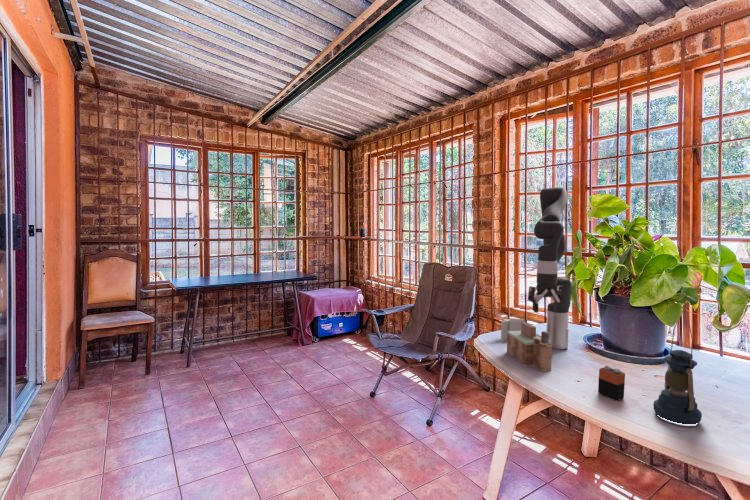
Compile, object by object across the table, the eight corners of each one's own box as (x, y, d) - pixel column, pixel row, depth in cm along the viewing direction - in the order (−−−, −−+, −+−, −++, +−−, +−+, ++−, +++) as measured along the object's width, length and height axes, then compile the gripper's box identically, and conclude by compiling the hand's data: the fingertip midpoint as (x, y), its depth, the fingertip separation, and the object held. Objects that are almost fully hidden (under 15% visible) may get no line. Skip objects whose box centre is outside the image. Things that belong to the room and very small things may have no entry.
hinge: (501, 341, 195) (502, 321, 194) (496, 338, 200) (497, 319, 199) (527, 340, 197) (528, 320, 196) (522, 337, 202) (522, 318, 201)
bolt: (532, 339, 166) (532, 327, 165) (538, 339, 166) (538, 327, 166) (543, 346, 158) (544, 333, 157) (550, 345, 158) (550, 333, 158)
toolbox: (506, 352, 179) (507, 327, 178) (529, 351, 181) (530, 326, 180) (533, 371, 158) (534, 343, 157) (558, 370, 160) (559, 341, 158)
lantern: (644, 405, 130) (650, 301, 127) (685, 409, 127) (692, 302, 124) (666, 428, 116) (674, 311, 113) (713, 432, 114) (722, 313, 110)
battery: (616, 401, 133) (618, 372, 132) (597, 393, 139) (598, 365, 138) (624, 398, 135) (626, 370, 134) (605, 390, 141) (606, 363, 140)
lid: (507, 335, 179) (507, 320, 178) (529, 334, 180) (530, 319, 180) (526, 347, 163) (526, 330, 162) (550, 345, 165) (551, 329, 164)
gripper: (557, 270, 161) (556, 308, 163) (525, 270, 159) (524, 310, 161) (569, 272, 154) (567, 313, 155) (535, 273, 152) (534, 314, 153)
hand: (545, 311), depth 158 cm, fingers open, 8 cm apart
